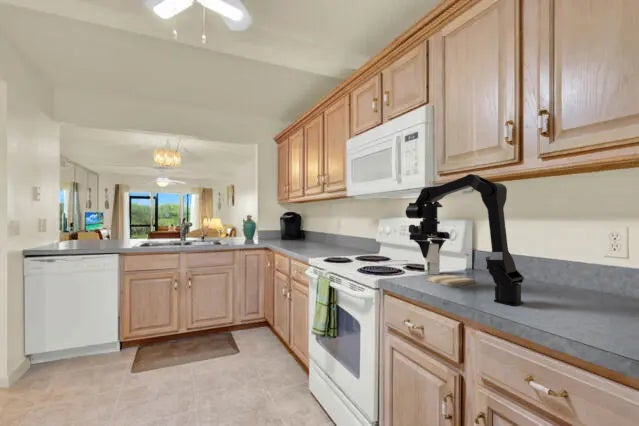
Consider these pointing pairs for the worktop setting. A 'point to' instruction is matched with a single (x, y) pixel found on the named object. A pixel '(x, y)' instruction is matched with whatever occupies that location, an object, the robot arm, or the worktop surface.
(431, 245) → the white short cylinder
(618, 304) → the worktop surface
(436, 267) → the syrup box
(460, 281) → the birch board
